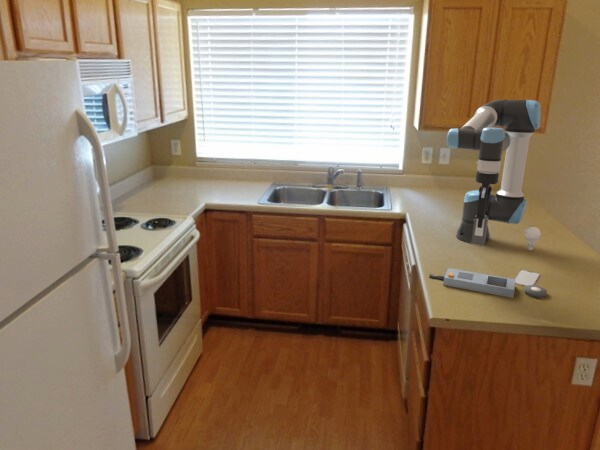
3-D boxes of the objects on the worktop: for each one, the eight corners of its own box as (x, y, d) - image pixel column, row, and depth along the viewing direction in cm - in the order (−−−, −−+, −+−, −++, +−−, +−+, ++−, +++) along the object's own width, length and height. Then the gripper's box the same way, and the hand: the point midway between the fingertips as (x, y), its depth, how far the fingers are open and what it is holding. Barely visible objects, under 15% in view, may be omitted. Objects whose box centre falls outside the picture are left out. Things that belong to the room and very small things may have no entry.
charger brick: (472, 240, 177) (475, 214, 174) (485, 242, 175) (488, 216, 172) (470, 243, 173) (473, 217, 170) (483, 245, 171) (487, 219, 168)
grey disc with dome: (524, 288, 171) (525, 283, 170) (545, 291, 168) (546, 287, 167) (524, 295, 165) (525, 291, 164) (546, 299, 162) (547, 294, 161)
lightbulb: (518, 249, 209) (522, 225, 206) (529, 247, 211) (532, 224, 208) (530, 253, 203) (534, 230, 200) (540, 251, 206) (545, 228, 202)
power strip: (431, 272, 184) (432, 263, 183) (514, 286, 172) (515, 277, 171) (427, 281, 175) (427, 272, 174) (513, 297, 163) (514, 287, 162)
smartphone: (511, 282, 175) (520, 269, 186) (511, 283, 175) (520, 270, 187) (532, 287, 171) (541, 273, 182) (532, 289, 171) (540, 275, 182)
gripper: (480, 167, 175) (472, 226, 182) (473, 174, 160) (465, 238, 167) (501, 168, 171) (492, 229, 178) (496, 176, 157) (487, 242, 163)
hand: (479, 233), depth 172 cm, fingers closed on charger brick, 4 cm apart
